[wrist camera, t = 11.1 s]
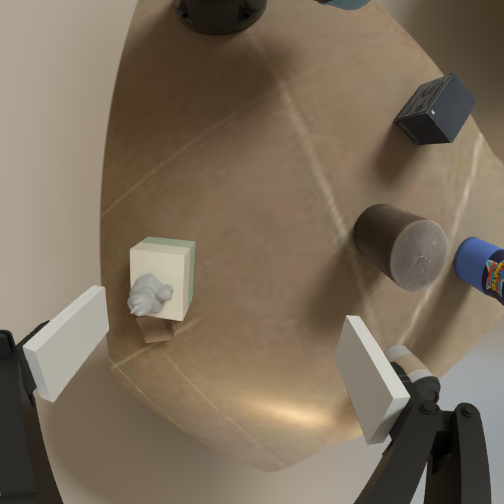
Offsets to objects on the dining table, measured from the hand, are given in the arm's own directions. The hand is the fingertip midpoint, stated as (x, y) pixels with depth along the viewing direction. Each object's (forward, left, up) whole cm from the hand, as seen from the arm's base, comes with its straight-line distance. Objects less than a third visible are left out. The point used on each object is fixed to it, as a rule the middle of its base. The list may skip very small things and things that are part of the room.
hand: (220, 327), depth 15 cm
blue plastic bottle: (+1, +46, -32) cm, 56 cm away
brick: (+19, -13, -32) cm, 39 cm away
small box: (-23, +28, -32) cm, 48 cm away
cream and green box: (+9, -11, -32) cm, 35 cm away
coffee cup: (+24, +34, -32) cm, 52 cm away
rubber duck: (+9, -11, -24) cm, 28 cm away
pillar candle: (-1, +23, -32) cm, 39 cm away
